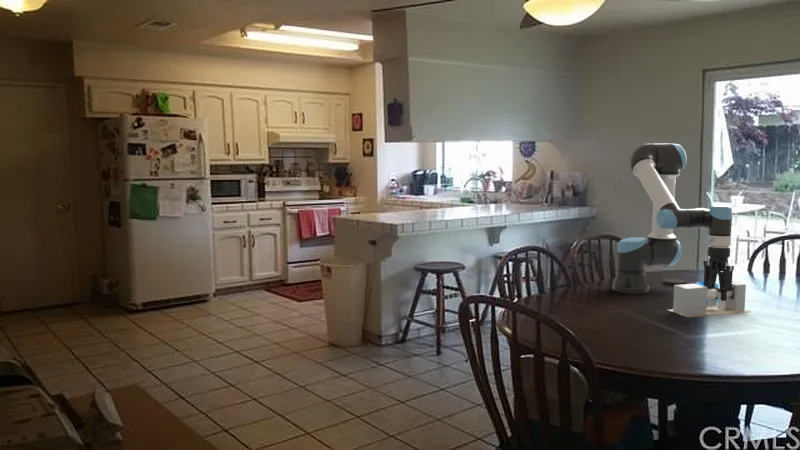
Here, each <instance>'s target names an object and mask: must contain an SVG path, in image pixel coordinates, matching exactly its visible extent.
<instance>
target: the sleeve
mask: <svg viewBox="0 0 800 450" xmlns="http://www.w3.org/2000/svg"><path fill="white" fill-rule="evenodd" d="M707 288H708V287H705V286H701V285H697V284H696V283H685V284H673V306H672V307H673V308H672V309H673V311H675V312H677V313H680V314H683V315H697V314H706V311H707V306H708V303H707ZM677 313H676V314H677ZM680 314H679V315H680ZM683 315H682V316H683Z"/></svg>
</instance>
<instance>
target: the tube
mask: <svg viewBox="0 0 800 450" xmlns="http://www.w3.org/2000/svg"><path fill="white" fill-rule="evenodd" d="M723 289H724V288H723ZM719 291H720V286H718V287H717V288H713V289H707V299H713V298H714V299H718V292H719ZM733 295H734V291H733V289H732V290H731V291H729V292H727V297H732V296H733Z"/></svg>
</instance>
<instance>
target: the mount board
mask: <svg viewBox="0 0 800 450" xmlns="http://www.w3.org/2000/svg"><path fill="white" fill-rule="evenodd" d="M668 311H669V312H672V313H675V314H677V315H680V316H684V317H686V318H697V317H708V316H710V317H711V316H718V315H719V316H720V315H732V314H744V313H752V311H750V310H748V309H745V311H733V310H730V309H727V308H725V309H718V305H715V306H708V305H707V311H706V314H697V315H683V314H680V313H677V312H675V311H673V308H671V309H668Z"/></svg>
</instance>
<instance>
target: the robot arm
mask: <svg viewBox="0 0 800 450" xmlns="http://www.w3.org/2000/svg"><path fill="white" fill-rule="evenodd" d="M686 166H687V153H686V150H685V149H684V147H683V146H682V145H681V144H679V143H672V142H671V143H669V142H668V143H644V144H641V145H639V146H637V147H636V148H635V149H634V150H633V152H632V153H631V155H630V158H629V167H630V170H631V173H632V175H633V176H635V177H636V178H638V179H639V181H640V183H641V185H642V186H643V187H644V190H645V191H646V194H647V195H648V197H649V198H650V200H651V202H652V204H653V205H652V220H651V221H652V223H651V224H652V225H651V232H650V233H649V234H648V235H647V239H646V238H645V237H641V236H637V237H634V236H633V237H627V238H623V239H621V240H619V241H618V243H617V244H618V245H617V249H616V250H617V268H616V274H615V278H614V281H613V283H612V290H613V291H614V292H617V293H620V294H621V293H622V294H628V295H629V294H632V295H633V294H635V295H641V294H646V293H649V290H650V286H649V283H648V280H647V276H646V267H647V268H648V267H671V266H672V267H673V266H675V265H676V264H677V263H678V262H679V260H680V258H681V257H682V246H681V242H680V241H679V240H677V236H676V235H675V234H674V230H676V229H706V230H707V229H708V240H707V242H708V245H709V246H708V247H707V256H708V257H709V258H708V259H707V260H703V261H702V262H703V267H704V268H703V282H704V286H706V287H708V289H713V288H716V287H715V283H716V282H717V278H718V287H719V288H720V291H719V292H718V302H717V303H716V299H714V298H713V299H708V303H707V306H716V304H717V306H718V309H725V301H726V297H727V292H729V291H731V290H732V281H733V273H734V269H735V266H734V265H731V264H730V263H729V258H730V257H731V245H732V244H731V241H732V221H733V215H732V214H733V212H732V211H733V208H732V207H731V206H730V205H724V204H723V205H720V204H714V205H711V206H710V207H709V208H705V207H696V208H680V206H679V205H678V204H677V202H676V200H675V197H676V179H678V177H679V176H680V174H681V171H683V170H684V169H685V167H686ZM707 282H708V283H707ZM723 288H724V289H723Z"/></svg>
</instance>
